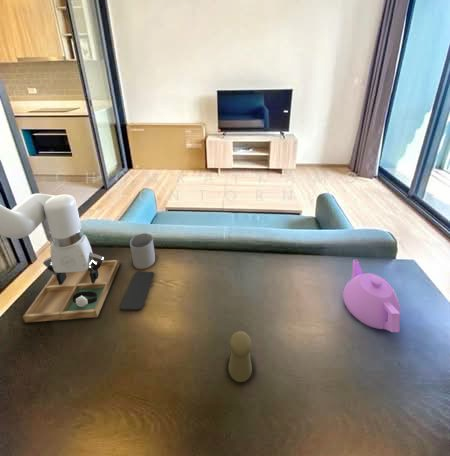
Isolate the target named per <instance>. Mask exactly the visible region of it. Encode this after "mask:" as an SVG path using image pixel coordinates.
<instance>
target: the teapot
mask: <svg viewBox="0 0 450 456" xmlns="http://www.w3.org/2000/svg"><path fill="white" fill-rule="evenodd" d="M342 299H343V301H344V302H343V303H344V304H345V306H346V308H347V310H348V311H349V312H350V314H351V315H352V316H353V317H355V319H356V320H358V321H359V322H360V323H363V324H364V325H366V326H368V327H369V328H373V329H379V330H386V331H387V332H391V333H400V332H401V331H400V328H401V315H402V314H401V305H400V301H399V298H398V295H397V294H396V292H395V289H394V288H393V287H392V286H391V284H390V283H389V282H388V281H387V280H386V279H385V278H383V277H381V276H380V275H378V274H375V273H371V272H367V273H366V272H365V273H363V269H362V268H361V265H360V261H359V260H358V259H352V269H351V279H350V280H349V281H348V282H347V283H346V285H345V286H344V289H343V292H342Z"/></svg>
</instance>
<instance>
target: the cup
mask: <svg viewBox="0 0 450 456" xmlns="http://www.w3.org/2000/svg"><path fill="white" fill-rule="evenodd" d="M129 246H130V253H131V258H132V264H133V267H134V268H136V269H138V270H144V269H148V268H150V267H151V266H152V265H154V263H155V262H156V254H155V246H154V237H153V236H152V234H150V233H147V232H145V233H144V232H143V233H139V234H136V235H135V236H133V237H132V238H131V239H130V240H129Z"/></svg>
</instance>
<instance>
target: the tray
mask: <svg viewBox="0 0 450 456" xmlns="http://www.w3.org/2000/svg"><path fill="white" fill-rule="evenodd" d="M93 261H94V262H96V263H97V261H95V260H93ZM90 266H91V267H93V266H92V265H91V264H90ZM119 268H120V260H119V259H111V260H103V262H102V264H101V266H100V267H99V268H98V274H99V276H98V278H97V279H96V281H95V283H91V278H90V271H88V270H86V271H82V272H65V273H66V276H67V277H66V279H65V281H64V282H63V284H62V285H59V283H58V281H57V277H56V275H54V274H53V273H52V275H51V276H50V278H49V280H48V281H47V282H46V284H45V285H44V287H43V288H42V289H41V291H40V292H39V294H38V295H37V296H36V298H35V300H33V301H32V303H31V305H30V306H29V307H28V308H27V310H26V312H25V313H24V314H23V316H22V318H23V321H24V323H37V322H38V323H39V322H50V321H51V322H52V321H63V320H75V319H89V318H98V317H99V314H100V312H101V309H102V308H103V305H104V302H105V301H106V298H107V296H108V293H109V291H110V288H111V286H112V283H113V281H114V279H115V276H116V275H117V272H118V269H119ZM88 291H91V292H95V293H96V294H97V300H96V301H95V302H94V303H90V304H86V305H85V306H83V307H81V306H78V305H77V304H76V303H74V302H73V295H75V294H76V293H79V292H88ZM83 297H85V298H86V299H92V298H95V297H93V296H92V297H91V296H83Z"/></svg>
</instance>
